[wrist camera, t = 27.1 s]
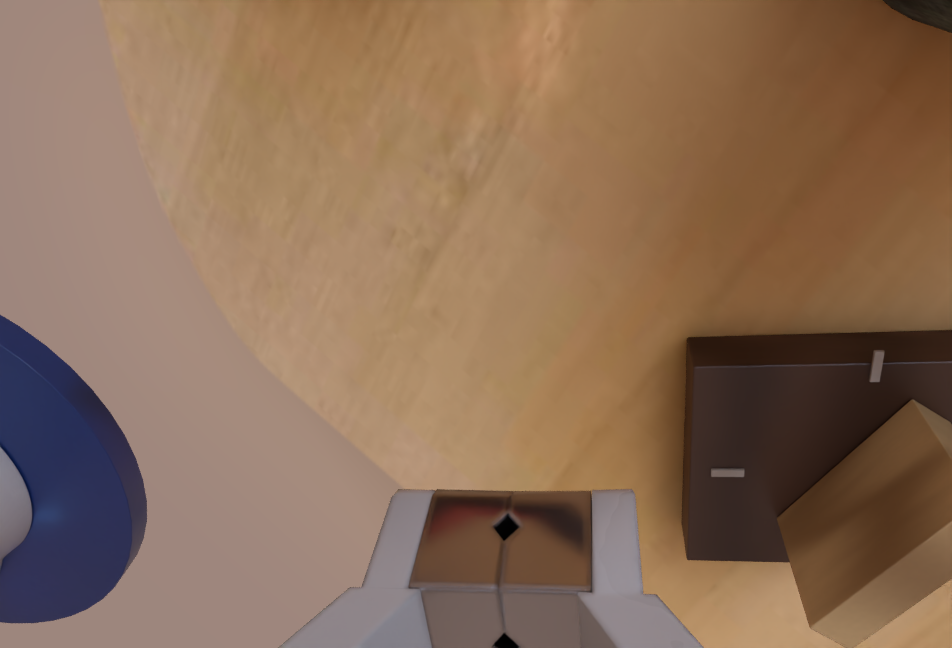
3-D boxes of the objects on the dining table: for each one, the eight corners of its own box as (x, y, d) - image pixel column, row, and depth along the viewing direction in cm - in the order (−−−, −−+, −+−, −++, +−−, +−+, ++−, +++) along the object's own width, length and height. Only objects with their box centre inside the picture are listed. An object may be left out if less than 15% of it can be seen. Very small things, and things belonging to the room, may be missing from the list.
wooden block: (811, 537, 34) (852, 656, 29) (775, 517, 34) (811, 633, 28) (950, 421, 30) (1028, 533, 25) (912, 398, 30) (982, 506, 25)
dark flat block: (681, 532, 38) (686, 572, 36) (687, 324, 33) (694, 356, 30) (980, 537, 36) (1007, 580, 34) (1044, 313, 30) (1081, 347, 28)
